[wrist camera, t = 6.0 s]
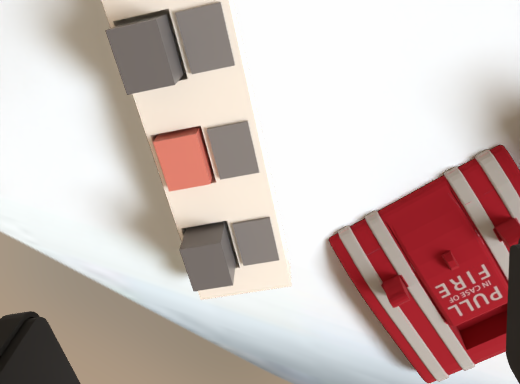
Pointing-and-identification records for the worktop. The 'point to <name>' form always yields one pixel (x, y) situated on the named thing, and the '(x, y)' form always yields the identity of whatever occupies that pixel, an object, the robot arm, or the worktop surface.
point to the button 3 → (208, 256)
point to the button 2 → (184, 158)
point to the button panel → (216, 137)
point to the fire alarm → (441, 264)
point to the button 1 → (146, 54)
